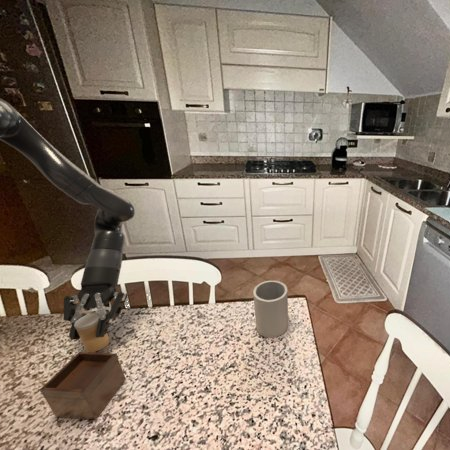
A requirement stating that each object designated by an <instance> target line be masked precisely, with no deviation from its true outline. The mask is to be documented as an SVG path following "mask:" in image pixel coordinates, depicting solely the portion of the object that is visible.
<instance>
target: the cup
mask: <svg viewBox="0 0 450 450" xmlns="http://www.w3.org/2000/svg"><path fill="white" fill-rule="evenodd" d="M252 292H253V293H252V294H253V305H254V306H253V307H254V318H255V328H256V332H257V333H258V334H259V335H261V336H263V337H264V338H277V337H279V336H281V335H283V334H284V333H285V332H286V331H287V329H288V327H289V299H288V298H289V296H288V295H289V293H288V286H287V285H286V284H285V283H283V282H282V281H279V280H265V281H263V282H262V281H261V282H260V283H259V284H257V285H256V286H255V287H254V289H253V291H252Z"/></svg>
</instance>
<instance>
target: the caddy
mask: <svg viewBox="0 0 450 450" xmlns="http://www.w3.org/2000/svg"><path fill="white" fill-rule="evenodd" d="M126 380H127V378H126V376H125V373H124V370H123V367H122V365H121V362H120V360H119V358H118V355H117V353H115V352H114V353H112V352H87V351H79V352H77V354H75V356H73V357H72V358H71V359H70V360H69V361H68V362H67V363H66V364H65V365H64V366H63V367H62V368H61V369H60V370H58V372H57V373H55V375H54V376H52V377H51V378H50V380H48V381H47V382H46V383H45V384H44V385H43V386H42V387H41V388H40V389H39V391H40V393H41V395H42V396H43V398H44V399H45V401H46V403H47V404H48V406H49V408H50V410H51V411H52V413H53V415H54V417H55V418H62V419H63V418H64V419H78V420H79V419H80V420H81V419H82V420H97V419H98V417H99V416H100V415H101V414H102V412H103V411H104V410H105V408H106V407H107V405H108V404H109V403H110V402H111V400H112V399H113V398H114V396H115V395H116V394H117V392H118V391H119V389H120V388H121V387H122V385H123V384H124V383H125V381H126Z"/></svg>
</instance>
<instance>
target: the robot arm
mask: <svg viewBox="0 0 450 450" xmlns="http://www.w3.org/2000/svg"><path fill="white" fill-rule="evenodd" d="M0 141H1V142H4V143H5V144H7V145H8V146H10V147H12V148H13V149H15V150H16V151H18V152H19V153H20V154H22V155H23V156H24V157H25V158H26V159H27V160H29V161H30V162H31V163H32V164H33V165H34V166H35V167H36V168H37V170H38V171H39V172H40V173H41V174H42V175H43V177H45V178H46V179H47V180H48V181H49V182H50V183H51V184H52V185H53V186H54V187H56V188H57V189H58V190H60V191H61V192H63V193H64V194H66V195H67V196H69V197H70V198H71V199H73V200H74V201H76V202H77V203H78V204H80V205H91V206H94V207H96V208H98V209H97V212H96V214H95V217H94V237H93V240H92V243H91V247H90V251H89V254H88V256H87V258H86V261H85V266H84V270H83V274H82V278H81V281H80V290H79V291H78V292H77V294H74V295H65V296H64V298H63V320H64V321H68V322H70V323H71V325H70V329H69V333H68V337H69V339H70V341H73V340H74V341H75V340H80V337H79V335H78V332H77V330H76V329H75V327H74V324H75V322H76V321H77V320H78V319H79V318H81V317H83V316H85V315H87V314H91V311H92V310H94V309H97V313H98V314H99V315H100V319H101V321H99V322H98V327H97V331H96V338H98V337H104V335H105V334H106V333H107V334H108V331H109V325H110V321H111V320H112V319H114V318H118V317H119V316H120V315H121V313H122V310H123V308H124V306H125V303H126V301H127V299H128V296H129V294H128V293H127V292H123V291H119V292H118V290H117V286H118V284H119V280H120V275H121V274H120V273H121V268H122V265H123V253H124V248H125V243H126V235H125V234H124V233H123V232H122V227H123V225H124V224H126V223H128V222H129V221H131V220H132V219H133V218H134V217H135V214H136V210H135V207H134V205H133V204H132V203H131V201H130V200H128V199H127V198H126V197H124V196H122V195H121V194H119V193H117V192H115V191H113V190H111V189H109V188H108V187H105V186H104V185H102V184H100V183H99V182H98V181H96V180H95V179H94V178H93V177H91V176H90V175H89V174H88V173H86V172H85V171H84V170H82V169H81V168H80V167H79V166H77V165H76V164H75V163H73V162H72V161H71V160H70V159H68V158H67V157H66V156H65V155H64V154H62V152H60V151H59V150H58V149H57V148H55V147H54V146H53V145H52V144H51V143H50V142H49V141H48V140H47V139H46V138H44V136H43V135H42V134H40V133H39V132H38V130H36V129H35V127H33V126H32V124H30V123H29V121H27V119H26V118H25V117H24V116H23V115H22V114H21V113H20V112H19V111H18V110H17V109H16V108H15V107H14V106H13V105H11V104H10V103H9V102H8V101H6V100H4V99H3V98H1V97H0ZM112 300H114V301H113V303H112V305H111V302H112Z"/></svg>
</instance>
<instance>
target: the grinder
mask: <svg viewBox="0 0 450 450" xmlns="http://www.w3.org/2000/svg"><path fill="white" fill-rule="evenodd" d="M99 321H101V319H100V315H99V312H90V313H89V314H87V315H85V316H83V317H81V318H79V319H78V320H77V321H76V322H75V324H74V327H75V329H76V330H77V332H78V335H79V337H80V338H79V340H80V341H81V343H82V345H83V348H84V350H85V352H95V353H97V351H100V350H102V349H104V348H105V347H106V346H107V345H108V344H109V343H110V337H109V335H108V332H107V333H106V334H105V335H104V337H98V338H96V331H97V327H98V322H99Z"/></svg>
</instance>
